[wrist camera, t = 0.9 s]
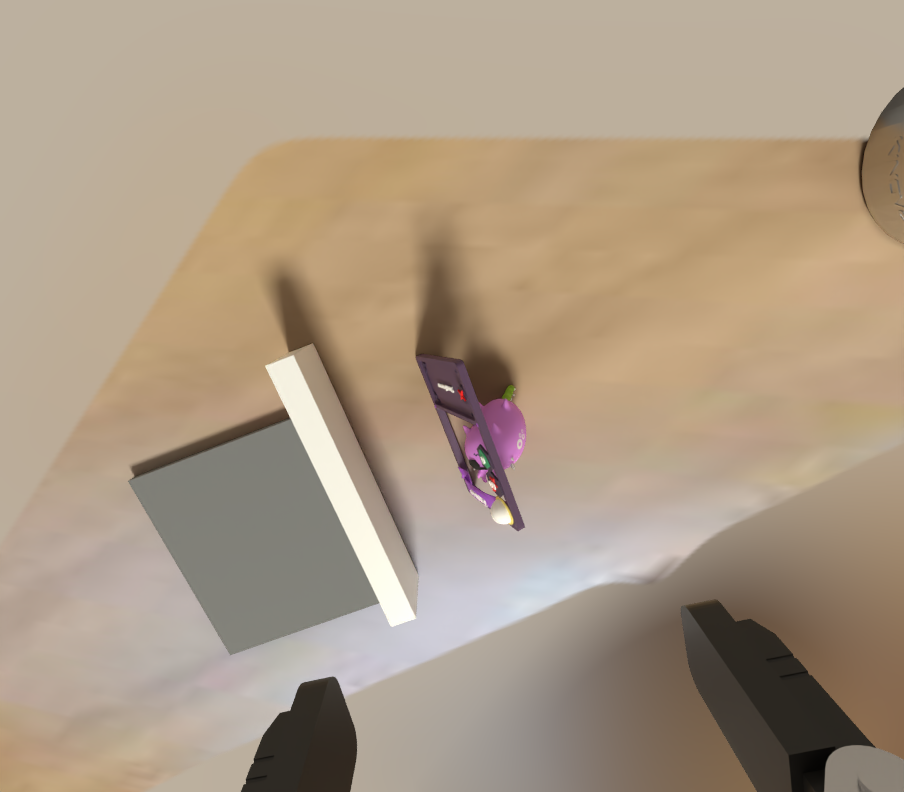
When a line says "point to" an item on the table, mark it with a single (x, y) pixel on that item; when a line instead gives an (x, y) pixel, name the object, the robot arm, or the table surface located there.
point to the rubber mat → (256, 537)
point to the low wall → (347, 479)
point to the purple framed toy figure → (479, 432)
